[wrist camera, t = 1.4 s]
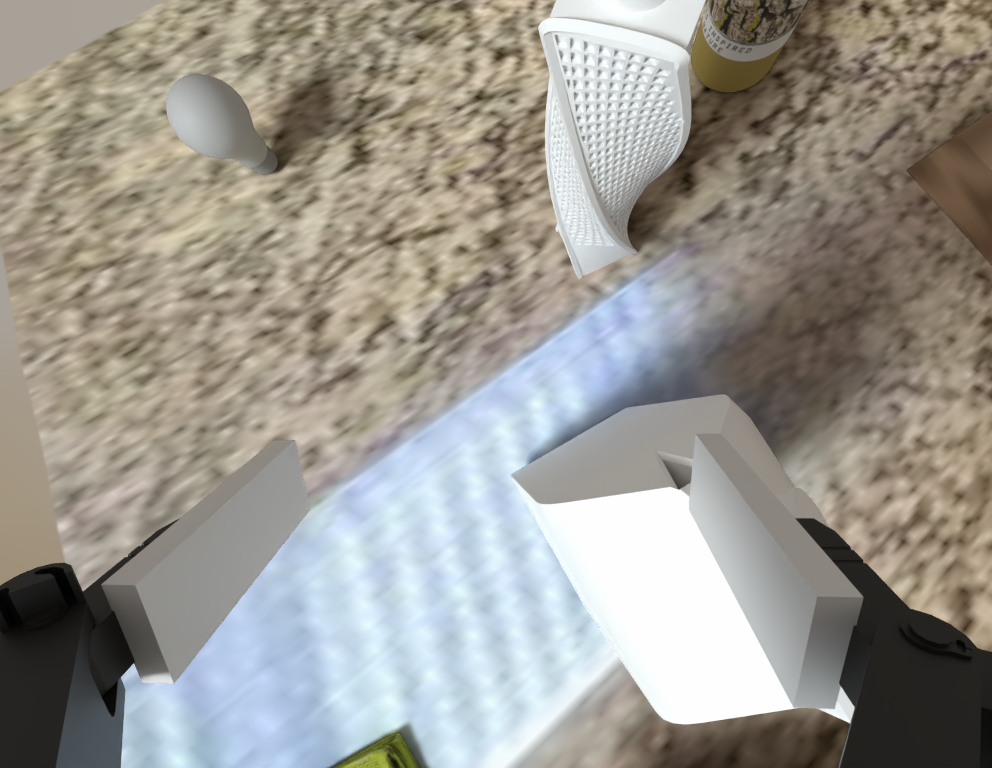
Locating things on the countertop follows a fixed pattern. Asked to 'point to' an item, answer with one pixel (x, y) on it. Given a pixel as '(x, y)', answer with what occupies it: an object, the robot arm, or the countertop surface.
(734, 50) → the bark-print cylinder
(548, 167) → the skyscraper
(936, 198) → the housing
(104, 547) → the countertop surface
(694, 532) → the milk
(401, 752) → the dish towel
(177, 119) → the lightbulb
